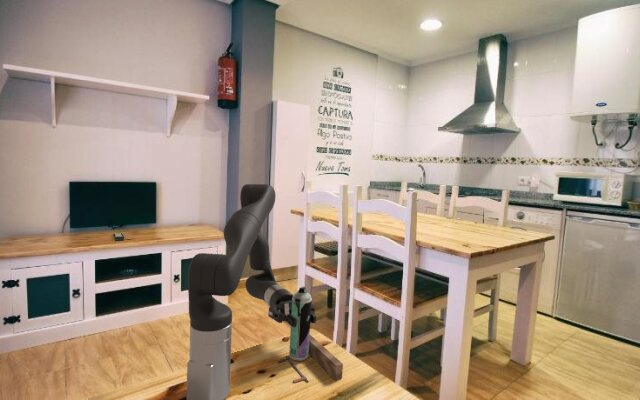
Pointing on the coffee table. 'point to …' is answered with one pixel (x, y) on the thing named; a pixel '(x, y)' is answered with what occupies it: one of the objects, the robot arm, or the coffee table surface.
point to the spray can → (300, 325)
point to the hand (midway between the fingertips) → (305, 321)
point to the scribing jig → (320, 360)
